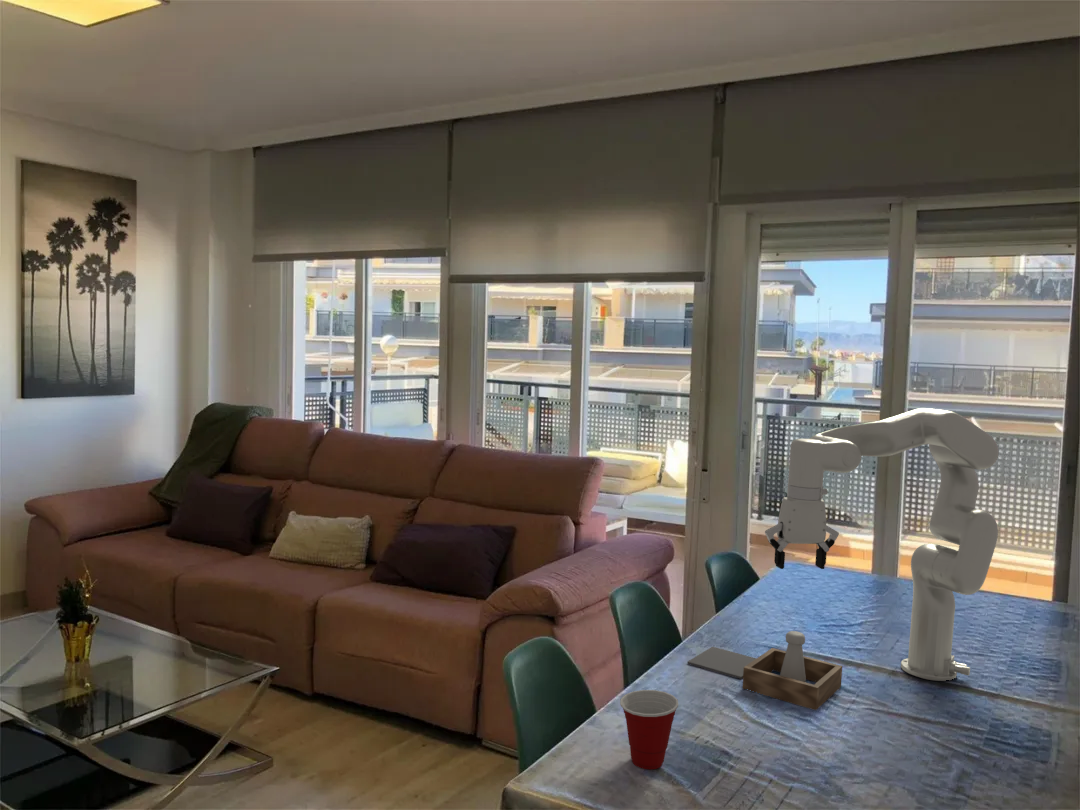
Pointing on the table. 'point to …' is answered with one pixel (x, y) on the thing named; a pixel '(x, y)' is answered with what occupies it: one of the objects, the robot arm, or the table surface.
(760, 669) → the frame
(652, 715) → the plastic cup
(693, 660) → the coaster
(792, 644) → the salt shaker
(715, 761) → the table surface
